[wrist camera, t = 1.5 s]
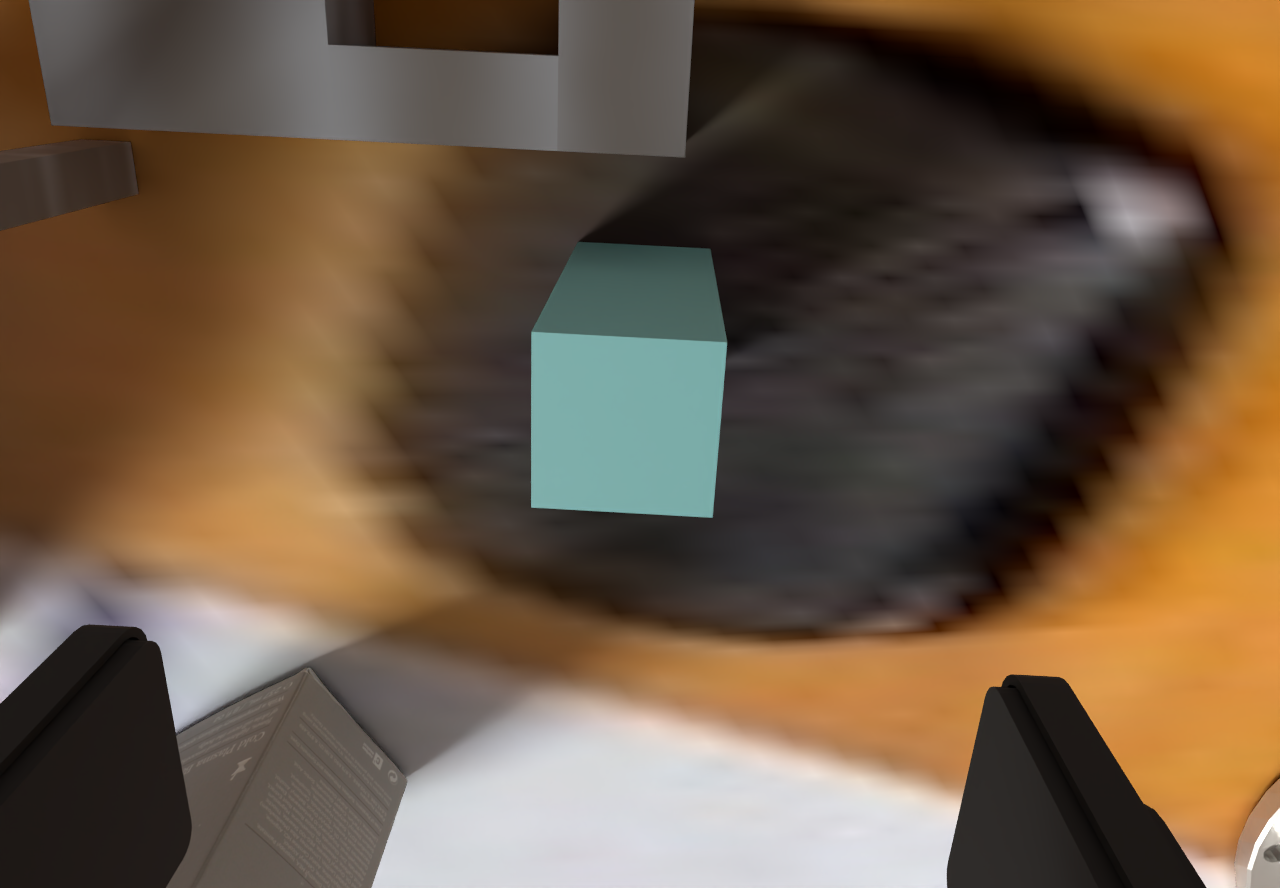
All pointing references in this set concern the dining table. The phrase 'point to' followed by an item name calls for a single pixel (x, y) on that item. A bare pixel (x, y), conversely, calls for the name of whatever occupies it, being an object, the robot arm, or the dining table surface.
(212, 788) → the skincare box
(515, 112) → the socket stand
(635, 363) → the peg
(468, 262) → the dining table surface
